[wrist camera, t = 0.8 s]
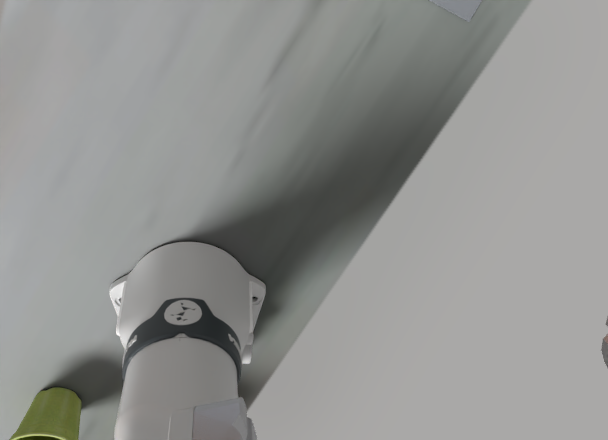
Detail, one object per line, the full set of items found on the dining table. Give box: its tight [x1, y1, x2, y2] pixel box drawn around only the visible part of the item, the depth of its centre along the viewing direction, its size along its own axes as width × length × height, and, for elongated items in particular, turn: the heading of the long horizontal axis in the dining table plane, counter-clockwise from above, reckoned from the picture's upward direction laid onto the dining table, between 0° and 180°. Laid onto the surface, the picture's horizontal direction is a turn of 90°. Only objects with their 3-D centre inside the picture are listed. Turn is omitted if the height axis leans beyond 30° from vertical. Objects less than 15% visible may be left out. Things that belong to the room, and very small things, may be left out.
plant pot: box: [10, 387, 81, 440], centre depth 69 cm, size 9×9×9 cm
